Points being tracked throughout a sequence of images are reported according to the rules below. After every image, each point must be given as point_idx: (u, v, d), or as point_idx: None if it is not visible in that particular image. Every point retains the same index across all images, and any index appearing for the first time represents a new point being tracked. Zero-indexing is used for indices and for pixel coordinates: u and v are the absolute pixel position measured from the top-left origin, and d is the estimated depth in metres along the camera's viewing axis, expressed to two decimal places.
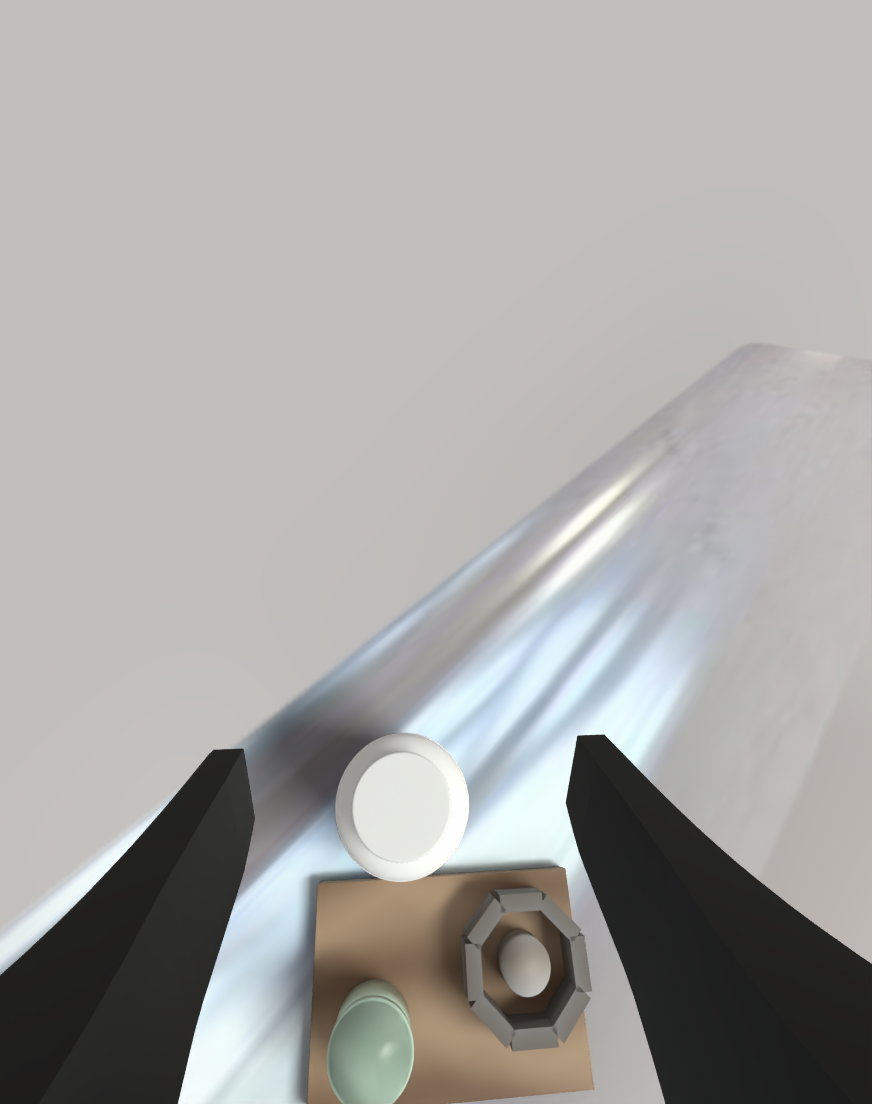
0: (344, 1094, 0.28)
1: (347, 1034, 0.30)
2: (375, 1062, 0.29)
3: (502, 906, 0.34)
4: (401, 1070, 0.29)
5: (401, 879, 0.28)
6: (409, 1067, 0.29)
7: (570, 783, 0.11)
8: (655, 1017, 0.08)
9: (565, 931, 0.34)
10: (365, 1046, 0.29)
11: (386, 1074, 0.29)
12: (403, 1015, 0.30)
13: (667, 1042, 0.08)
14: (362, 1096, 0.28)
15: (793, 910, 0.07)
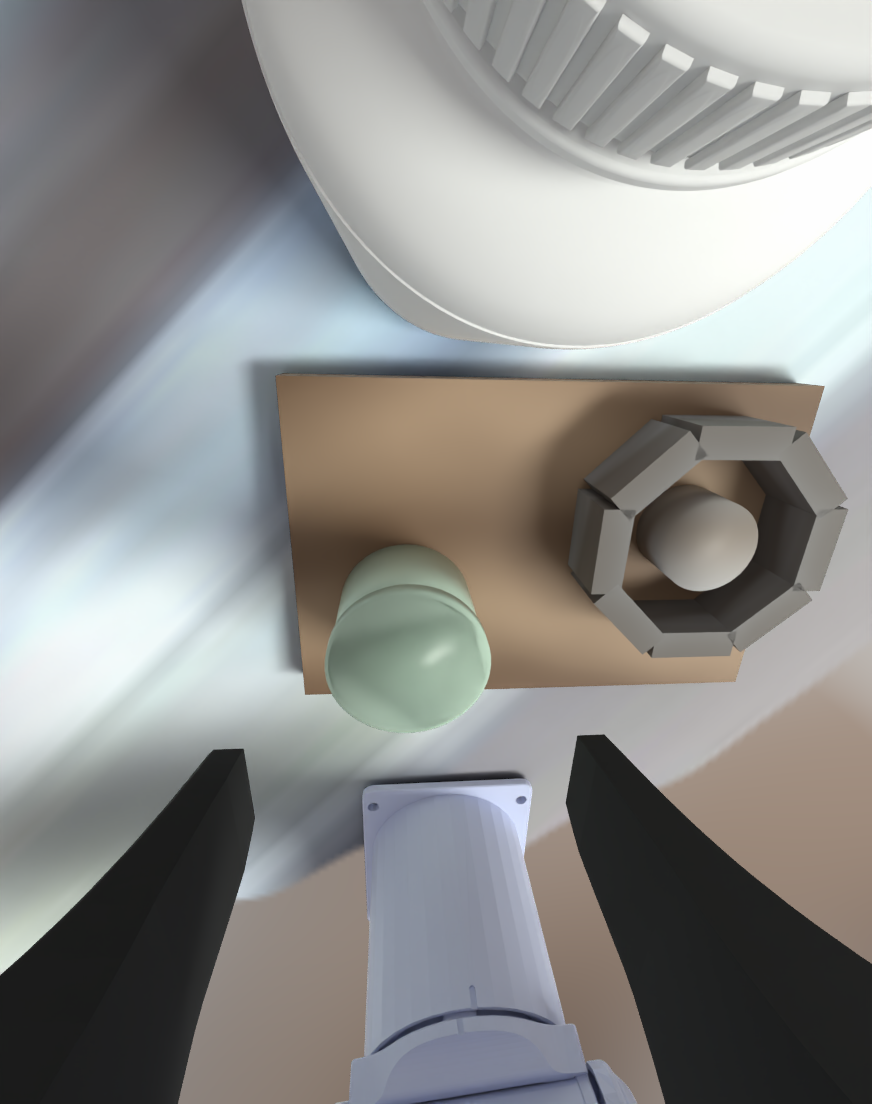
0: (362, 711, 0.16)
1: (362, 641, 0.15)
2: (418, 677, 0.15)
3: (702, 447, 0.15)
4: (466, 688, 0.16)
5: (577, 332, 0.06)
6: (480, 685, 0.16)
7: (570, 783, 0.11)
8: (655, 1017, 0.08)
9: (814, 500, 0.16)
10: (398, 657, 0.15)
11: (438, 692, 0.16)
12: (474, 619, 0.15)
13: (667, 1042, 0.08)
14: (394, 714, 0.16)
15: (793, 910, 0.07)
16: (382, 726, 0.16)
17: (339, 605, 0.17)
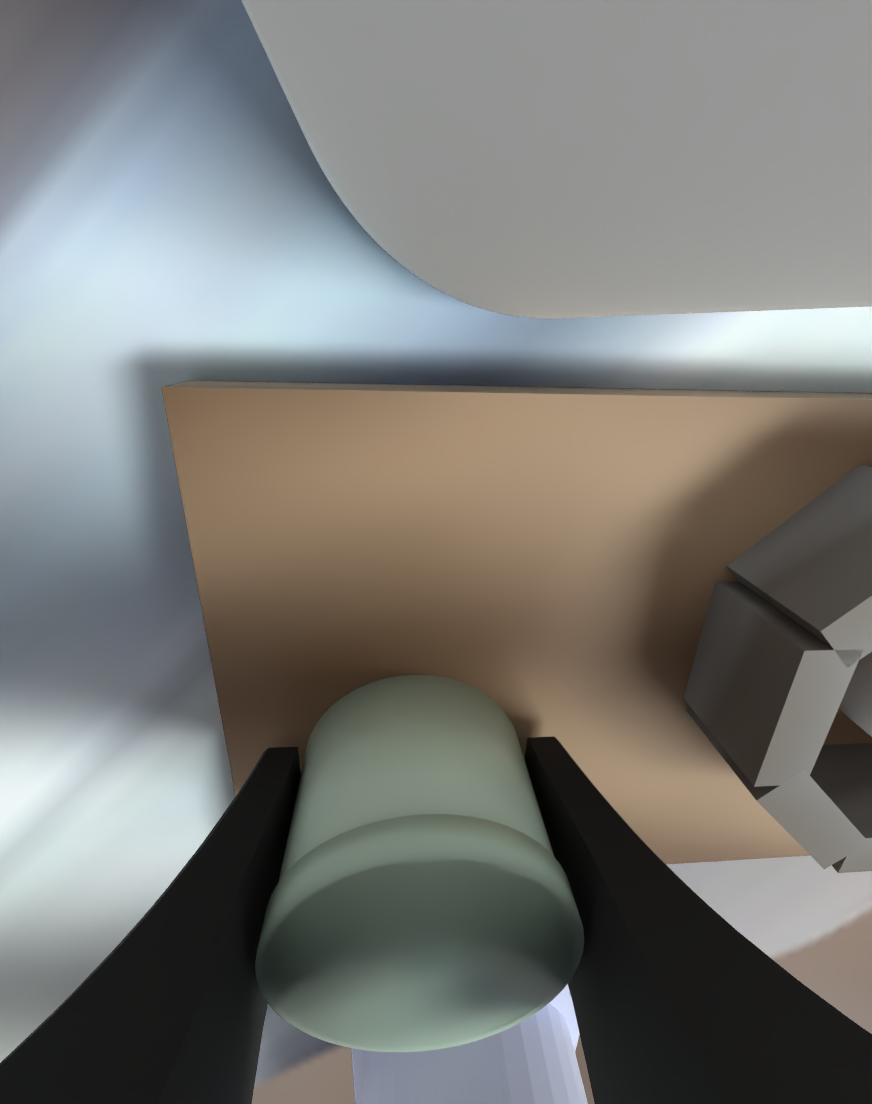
0: (334, 1029, 0.08)
1: (330, 932, 0.07)
2: (441, 978, 0.08)
3: None
4: (532, 987, 0.08)
5: None
6: (560, 982, 0.08)
7: None
8: (588, 1023, 0.08)
9: None
10: (402, 952, 0.08)
11: (479, 995, 0.08)
12: (556, 883, 0.07)
13: (597, 1048, 0.08)
14: (396, 1030, 0.08)
15: (716, 915, 0.07)
16: (372, 1047, 0.09)
17: (297, 794, 0.10)
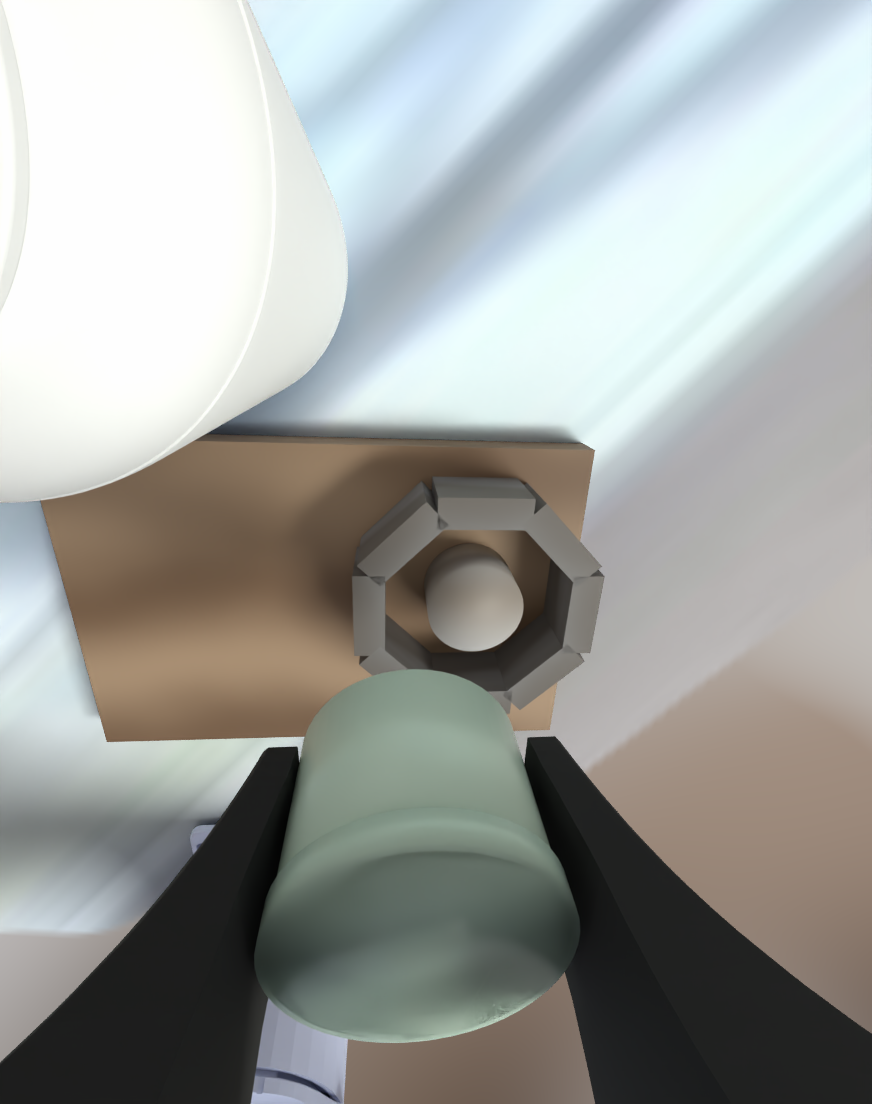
0: (331, 1020, 0.08)
1: (330, 924, 0.07)
2: (438, 969, 0.08)
3: (441, 518, 0.15)
4: (528, 978, 0.08)
5: None
6: (555, 973, 0.08)
7: None
8: (589, 1023, 0.08)
9: (568, 567, 0.16)
10: (401, 943, 0.08)
11: (475, 986, 0.08)
12: (554, 875, 0.07)
13: (597, 1048, 0.08)
14: (392, 1020, 0.08)
15: (716, 915, 0.07)
16: (368, 1037, 0.09)
17: (295, 787, 0.10)
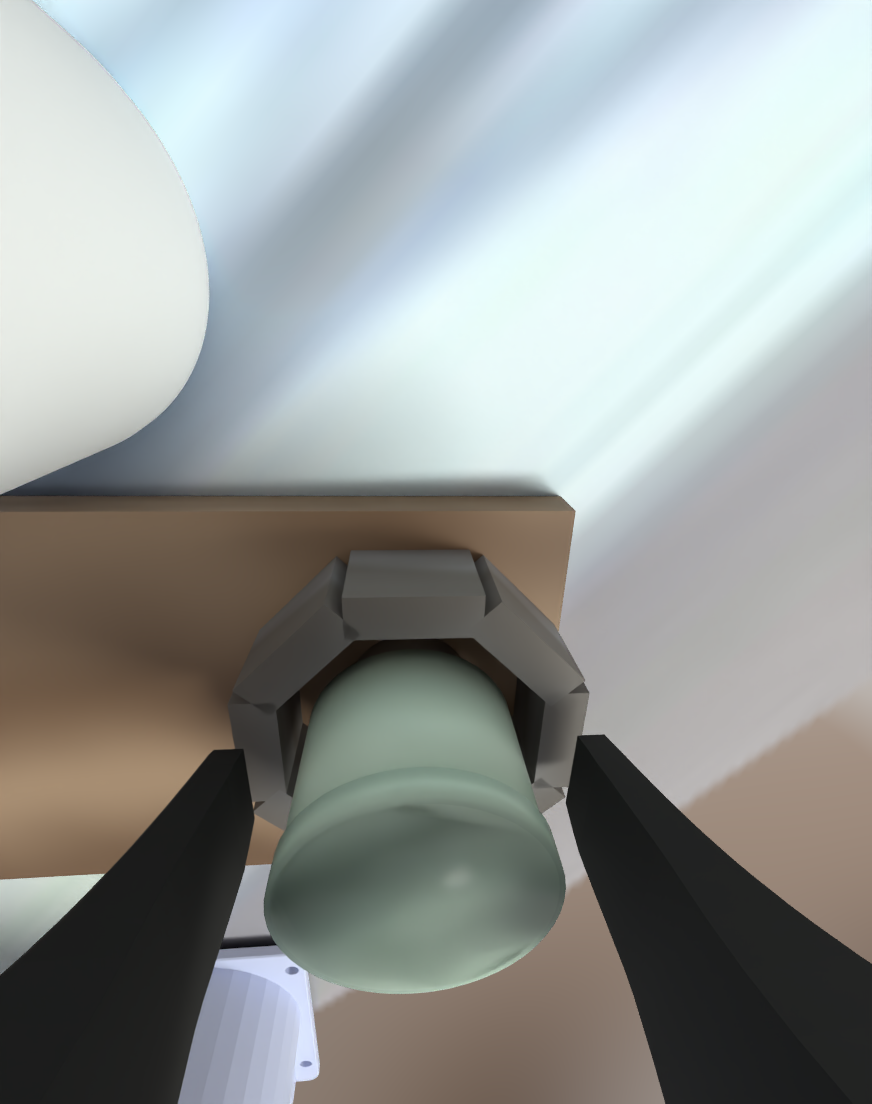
0: (333, 969, 0.09)
1: (333, 873, 0.08)
2: (433, 921, 0.09)
3: (348, 625, 0.10)
4: (517, 932, 0.09)
5: None
6: (543, 928, 0.09)
7: (570, 783, 0.11)
8: (655, 1017, 0.08)
9: (537, 683, 0.11)
10: (399, 894, 0.08)
11: (468, 939, 0.09)
12: (541, 832, 0.08)
13: (667, 1042, 0.08)
14: (390, 971, 0.09)
15: (793, 910, 0.07)
16: (368, 987, 0.09)
17: (302, 756, 0.10)
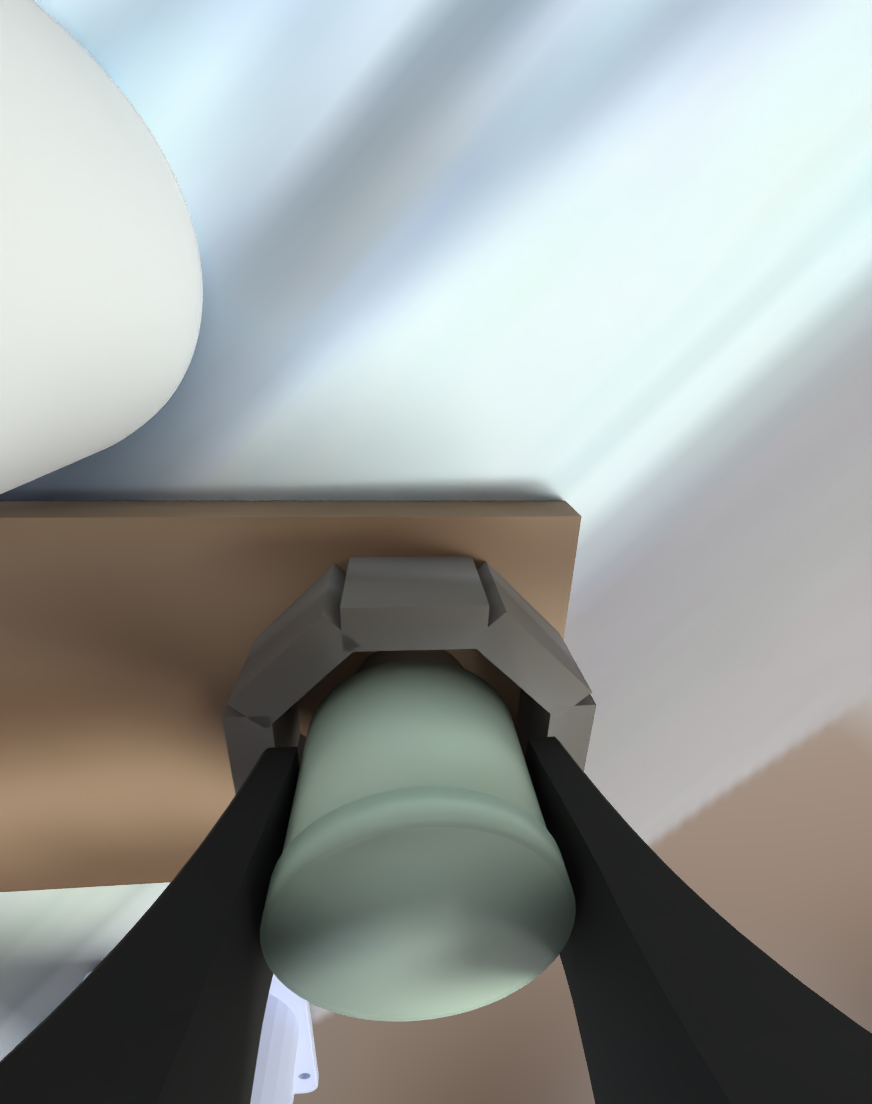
0: (333, 997, 0.09)
1: (333, 898, 0.08)
2: (438, 946, 0.08)
3: (347, 636, 0.10)
4: (525, 956, 0.09)
5: None
6: (551, 952, 0.09)
7: None
8: (589, 1023, 0.08)
9: (542, 695, 0.11)
10: (401, 919, 0.08)
11: (473, 964, 0.09)
12: (550, 854, 0.08)
13: (598, 1048, 0.08)
14: (392, 998, 0.09)
15: (717, 915, 0.07)
16: (369, 1015, 0.09)
17: (299, 772, 0.10)
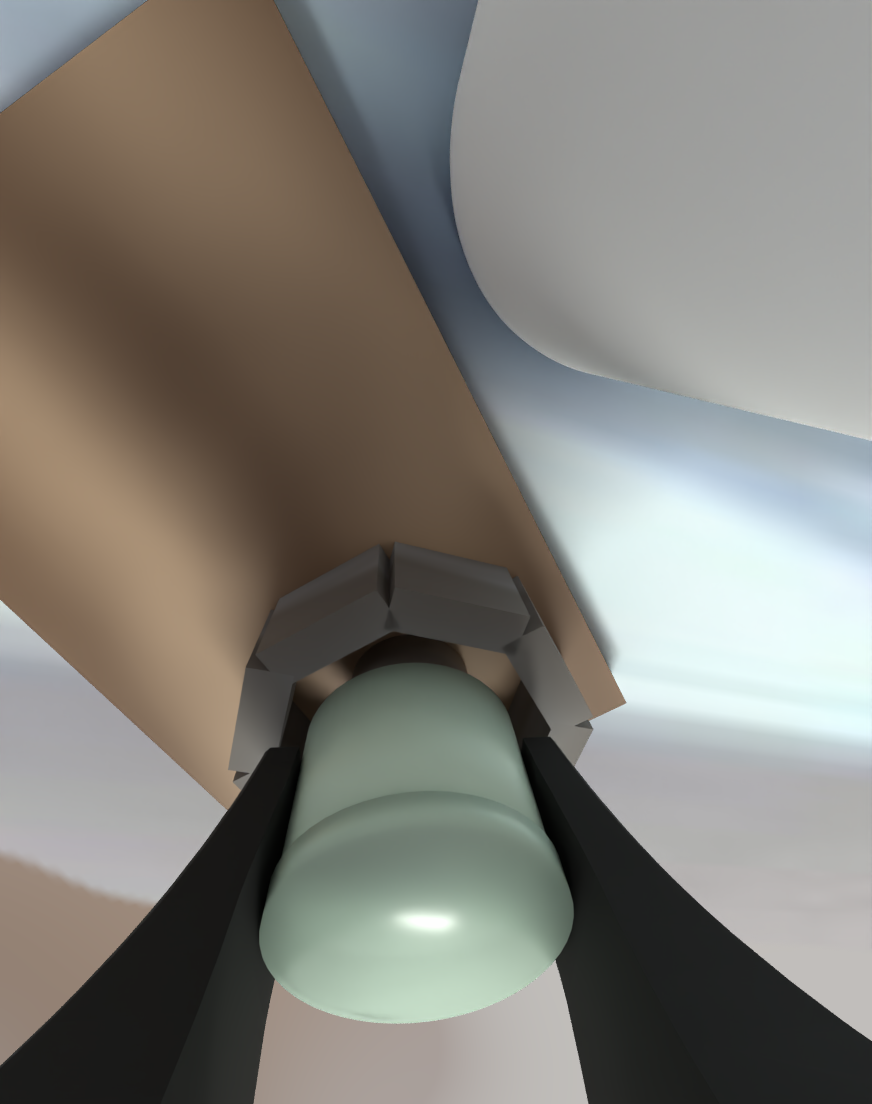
0: (452, 1006, 0.09)
1: (325, 967, 0.08)
2: (449, 933, 0.08)
3: (518, 643, 0.11)
4: (527, 885, 0.08)
5: None
6: (540, 867, 0.08)
7: None
8: (582, 1023, 0.08)
9: None
10: (390, 941, 0.08)
11: (500, 920, 0.08)
12: (400, 823, 0.07)
13: (591, 1049, 0.08)
14: (492, 978, 0.09)
15: (709, 916, 0.07)
16: (498, 996, 0.09)
17: None
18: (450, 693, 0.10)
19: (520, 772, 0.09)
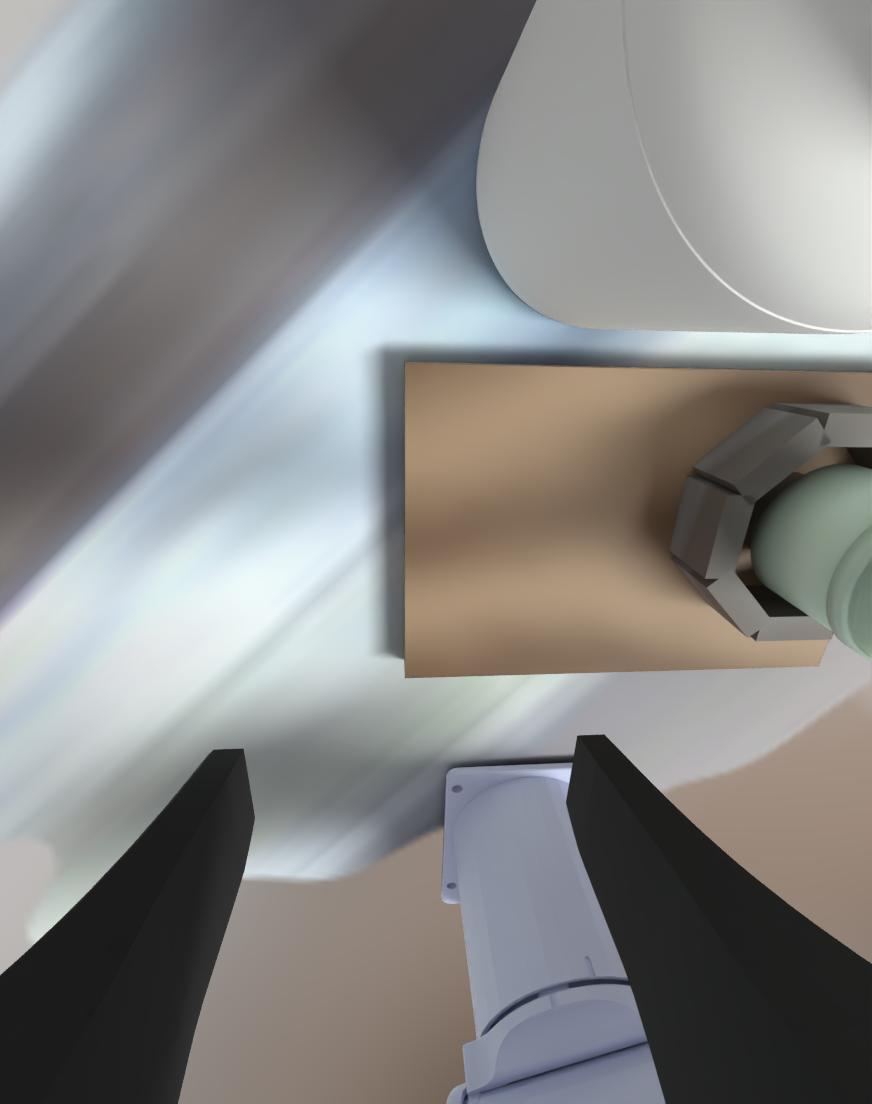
0: None
1: None
2: None
3: (826, 434, 0.15)
4: None
5: None
6: None
7: (570, 783, 0.11)
8: (655, 1017, 0.08)
9: None
10: None
11: None
12: (867, 553, 0.13)
13: (667, 1042, 0.08)
14: None
15: (793, 910, 0.07)
16: None
17: None
18: (813, 490, 0.15)
19: None
